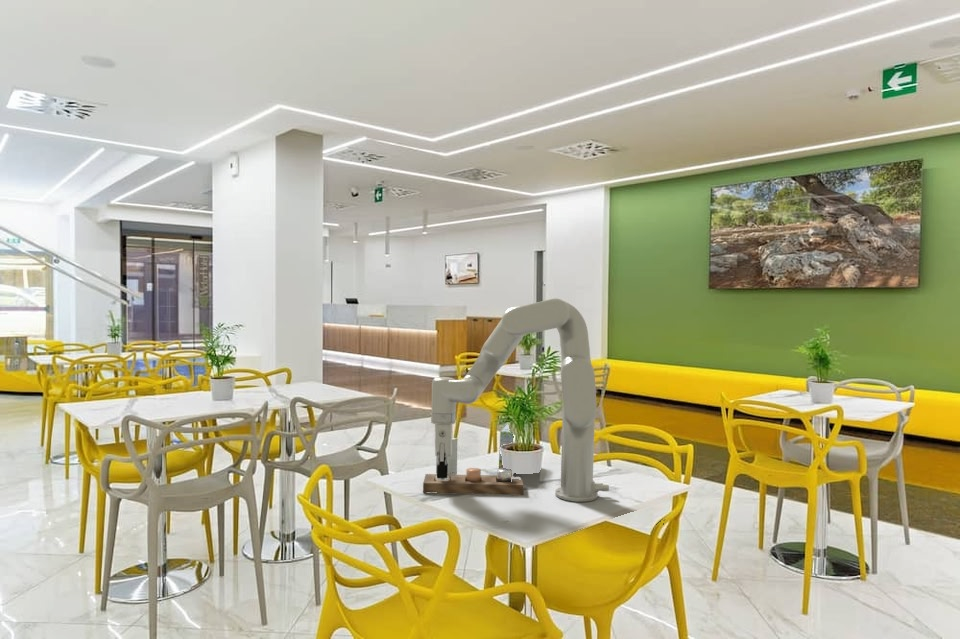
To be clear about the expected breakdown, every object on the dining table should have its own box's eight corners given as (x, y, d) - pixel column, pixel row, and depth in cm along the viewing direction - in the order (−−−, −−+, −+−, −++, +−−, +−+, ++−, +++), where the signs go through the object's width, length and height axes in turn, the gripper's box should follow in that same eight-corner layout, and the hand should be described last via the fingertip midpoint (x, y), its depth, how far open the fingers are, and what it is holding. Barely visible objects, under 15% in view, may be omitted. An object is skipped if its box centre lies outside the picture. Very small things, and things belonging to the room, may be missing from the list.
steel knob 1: (449, 486, 201) (449, 475, 201) (449, 490, 196) (449, 479, 196) (435, 486, 201) (435, 475, 201) (434, 490, 196) (434, 479, 196)
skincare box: (457, 474, 215) (458, 438, 215) (448, 476, 212) (449, 440, 212) (444, 470, 219) (444, 435, 219) (435, 473, 216) (436, 437, 216)
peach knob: (480, 478, 201) (480, 467, 201) (480, 482, 196) (480, 471, 196) (466, 478, 201) (466, 467, 201) (466, 482, 196) (466, 471, 196)
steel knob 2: (511, 479, 201) (511, 468, 201) (511, 483, 196) (512, 472, 196) (496, 479, 201) (497, 468, 201) (497, 483, 196) (497, 472, 196)
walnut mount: (520, 485, 204) (521, 475, 204) (523, 494, 194) (523, 484, 194) (425, 483, 204) (425, 474, 203) (423, 492, 194) (423, 483, 193)
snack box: (514, 477, 213) (515, 432, 212) (497, 476, 214) (498, 431, 213) (523, 462, 234) (524, 420, 233) (507, 461, 235) (508, 419, 234)
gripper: (454, 422, 190) (453, 484, 191) (456, 413, 205) (455, 471, 206) (429, 422, 190) (428, 483, 191) (432, 413, 205) (431, 470, 206)
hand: (442, 477), depth 198 cm, fingers closed
